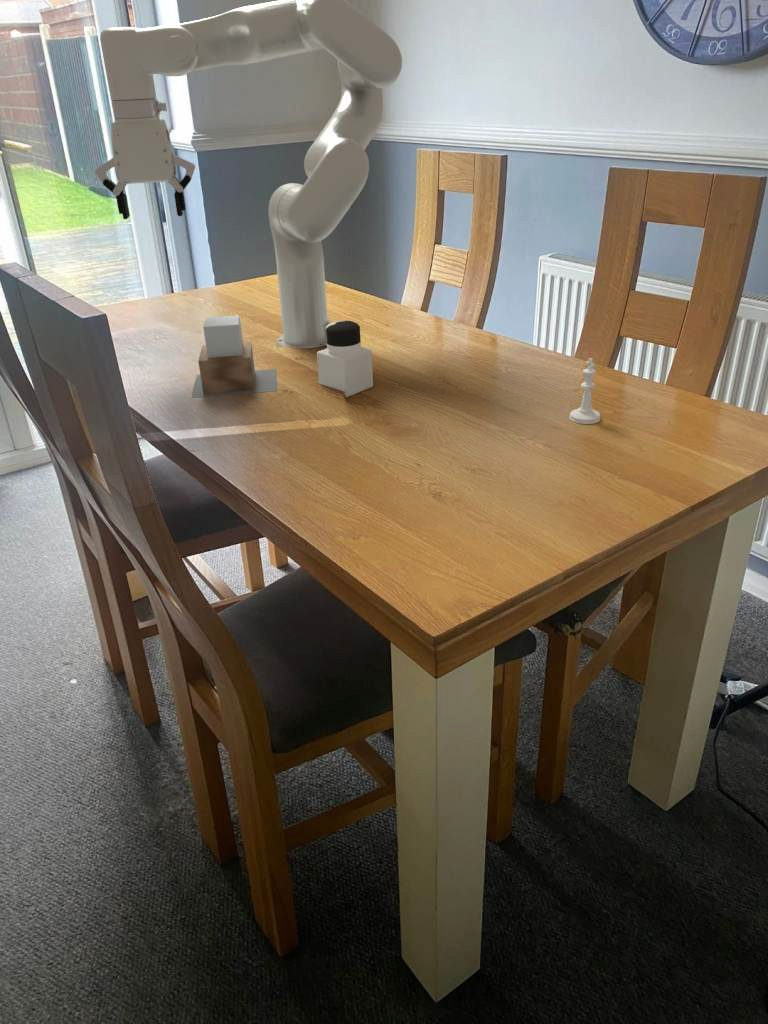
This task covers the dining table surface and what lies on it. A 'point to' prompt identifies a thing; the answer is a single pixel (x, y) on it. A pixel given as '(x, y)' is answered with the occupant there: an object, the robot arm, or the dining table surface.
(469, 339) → the dining table surface
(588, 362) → the chess piece
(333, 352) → the medicine bottle
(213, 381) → the walnut block
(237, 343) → the blue-grey block
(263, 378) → the slate board
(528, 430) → the dining table surface
